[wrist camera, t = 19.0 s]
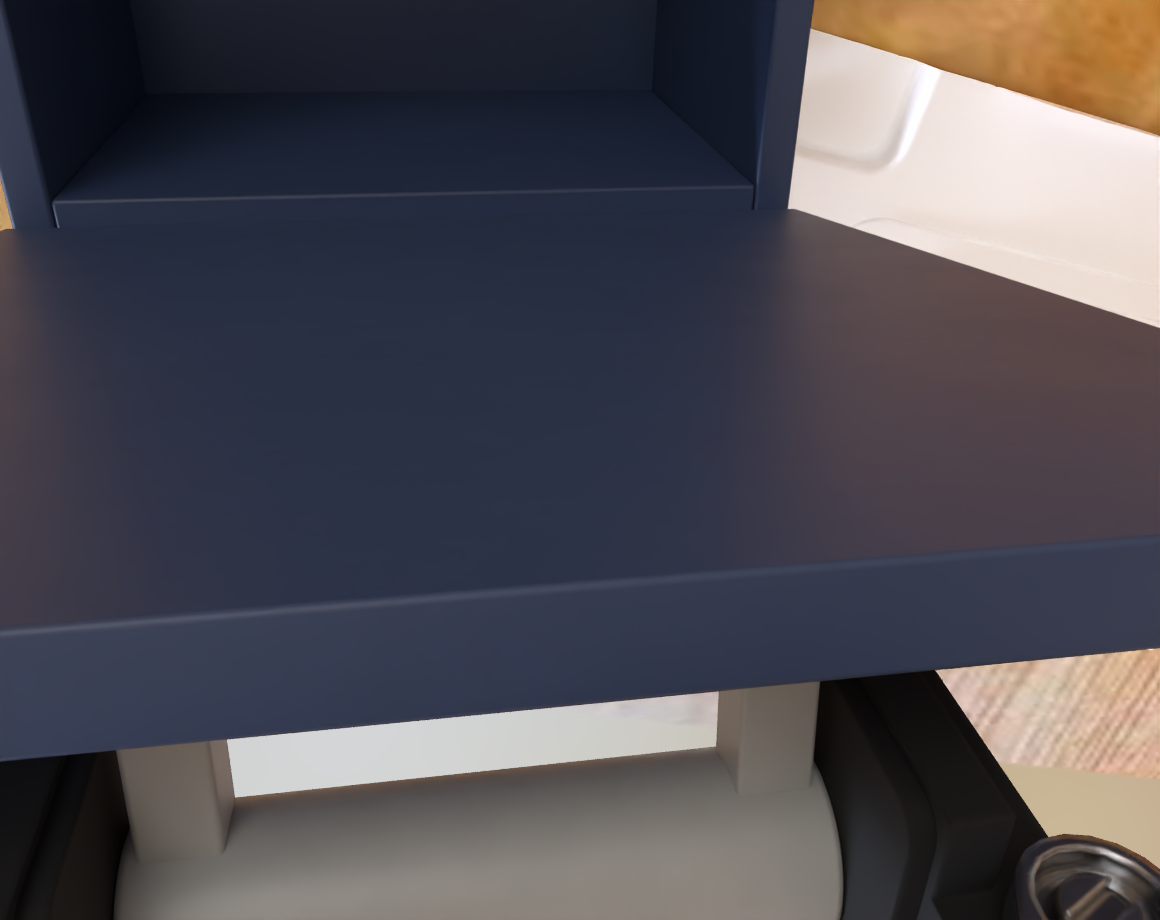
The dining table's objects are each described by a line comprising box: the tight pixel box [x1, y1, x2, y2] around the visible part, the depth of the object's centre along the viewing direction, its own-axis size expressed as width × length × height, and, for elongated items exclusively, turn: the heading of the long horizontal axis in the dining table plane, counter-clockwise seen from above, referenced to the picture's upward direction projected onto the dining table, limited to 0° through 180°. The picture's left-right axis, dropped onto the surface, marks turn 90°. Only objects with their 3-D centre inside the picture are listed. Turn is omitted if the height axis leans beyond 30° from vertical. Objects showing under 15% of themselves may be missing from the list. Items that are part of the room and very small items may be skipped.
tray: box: [788, 29, 1160, 650], centre depth 38 cm, size 20×28×4 cm
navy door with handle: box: [0, 209, 1160, 920], centre depth 14 cm, size 16×16×5 cm
